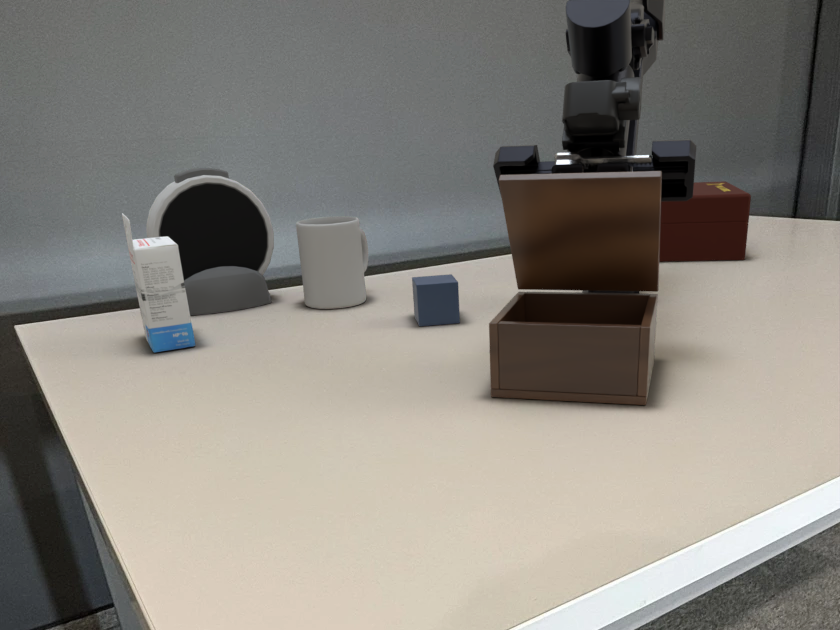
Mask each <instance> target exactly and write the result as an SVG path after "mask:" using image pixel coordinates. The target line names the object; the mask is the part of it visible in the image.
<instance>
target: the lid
mask: <svg viewBox="0 0 840 630" xmlns="http://www.w3.org/2000/svg"><path fill="white" fill-rule="evenodd" d="M661 185H662V171H636V172H596V173H557V174H517V175H500V177H499V186H500V190H499V193H500V192H501V194H500V197H501V203H502V208H503V214H504V220H505V224H506V230H507V235H508V242H509V247H510V253H511V259H512V264H513V265H512V266H513V270H514V275H515V281H516V287H517V290H519V291H520V290H523V291H525V290H529V291H530V290H531V291H583V290H585V291H640V292H650V293H652V292H655V293H657V292H659V287H660V286H659V284H660V262H659V255H660V220H661Z"/></svg>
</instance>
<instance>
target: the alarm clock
mask: <svg viewBox="0 0 840 630" xmlns="http://www.w3.org/2000/svg"><path fill="white" fill-rule="evenodd" d="M229 176H230V175H229V172H228V171H227V170H223V169H219V168H213V167H206V166H205V167H203V166H202V167H201V166H197V167H192V168H191V167H190V168H188V169H184V170H181V171H179V172H177V173H175V174H174V175H173V179H174V181H173V182H171V183H168V185H166V187H164V188H163V189H162V190H161V191H160V193H158V194H157V196H156V197H155V199H154V201H153V203H152V205H151V206H150V208H149V211H148V216H147V219H146V220H147V221H146V225H145V228H146V238H154V237H166V236H168V237H169V238H170V239H171V240H173V241H174V242H175V243H176V244H177V245H178V249H179V255H180V261H181V267H182V273H183V278H184V284H185V290H186V295H187V301H188V306H189V312H190V316H201V315H210V314H219V313H227V312H234V311H239V310H245V309H246V310H247V309H252V308H255V307H259V306H260V307H261V306H264V305H268V304H271V303H272V298H271V293H270V290H269V287H268V284H267V281H266V277H265V276H264V274H265V273H266V271H267V269H268V267H269V266H270V263H271V261H272V257H273V253H274V249H275V232H274V227H273V224H272V220H271V216H270V214H269V213H268V211H267V209H266V207H265V205H264V203H263V202H262V201H261V200H260V199H259V197H258V196H256V194H255V193H254V192H253V191H252V190H251V189H249V188H248V187H247V186H245V185H243V184H242V183H240V182H238V181H237V180H234V179H231V178H230V177H229Z"/></svg>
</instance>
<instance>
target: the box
mask: <svg viewBox="0 0 840 630" xmlns="http://www.w3.org/2000/svg"><path fill="white" fill-rule="evenodd" d="M751 201H752V195H751V194H750V193H749V192H747V191H745V190H743V189H741V188H739V187H738V186H736V185H734V184H731V183H730V182H728V181H725V180H723V181H698V182H695V181H694V187H693V197H692V198H691V199H689V200H688V201H661V220H660V255H659V263H661V262H664V263H665V262H705V261H713V262H714V261H744V260H746V251H747V241H748V231H749V222H750V221H749V220H750V212H751V203H752V202H751Z"/></svg>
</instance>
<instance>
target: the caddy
mask: <svg viewBox="0 0 840 630" xmlns="http://www.w3.org/2000/svg"><path fill="white" fill-rule="evenodd" d="M658 303H659V294H658V293H642V292H641V293H640V292H639V293H582V292H581V291H580V292H577V291H576V292H575V291H574V292H573V291H518V292H517V293H515V295H514V296H513V297H512V298H511V299H510V300H509V301H508V302H507V303H506V304H505V306H504V307H502V309H501V310H500V311H499V312H498V313H497V314H496V315H495V316H494V317H493V318H492V320H491V321H490V322H489V323H488V336H489V338H488V340H489V341H488V343H489V378H490V379H489V380H490V397H491V398H502V399H503V398H505V399H523V400H539V401H540V400H541V401H542V400H543V401H560V402H579V403H598V404H614V405H615V404H617V405H632V406H633V405H634V406H647V403H648V396H649V392H650V387H651V386H650V385H651V380H652V375H653V370H654V364H655V353H656V352H655V351H656V335H657V318H658Z"/></svg>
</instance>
